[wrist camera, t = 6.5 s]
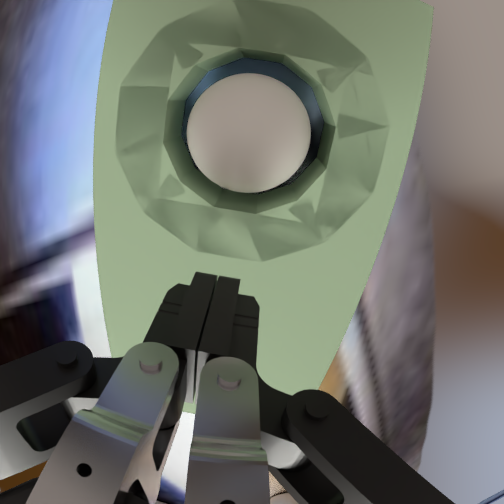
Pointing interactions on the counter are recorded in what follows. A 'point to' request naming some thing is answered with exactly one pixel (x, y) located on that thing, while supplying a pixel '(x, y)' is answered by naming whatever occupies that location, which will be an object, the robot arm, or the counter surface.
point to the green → (246, 204)
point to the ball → (248, 132)
